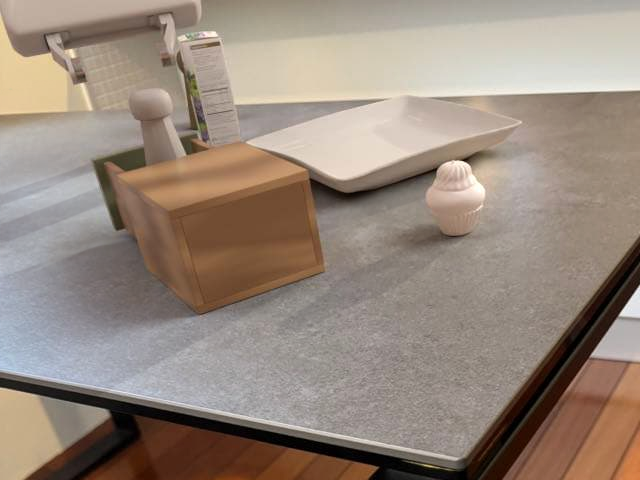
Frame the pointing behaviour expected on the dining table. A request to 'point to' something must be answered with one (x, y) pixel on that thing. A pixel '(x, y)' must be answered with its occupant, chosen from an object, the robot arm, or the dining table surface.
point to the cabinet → (224, 223)
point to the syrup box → (210, 88)
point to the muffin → (455, 198)
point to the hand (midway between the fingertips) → (124, 71)
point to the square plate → (386, 141)
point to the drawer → (124, 162)
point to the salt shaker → (156, 125)
